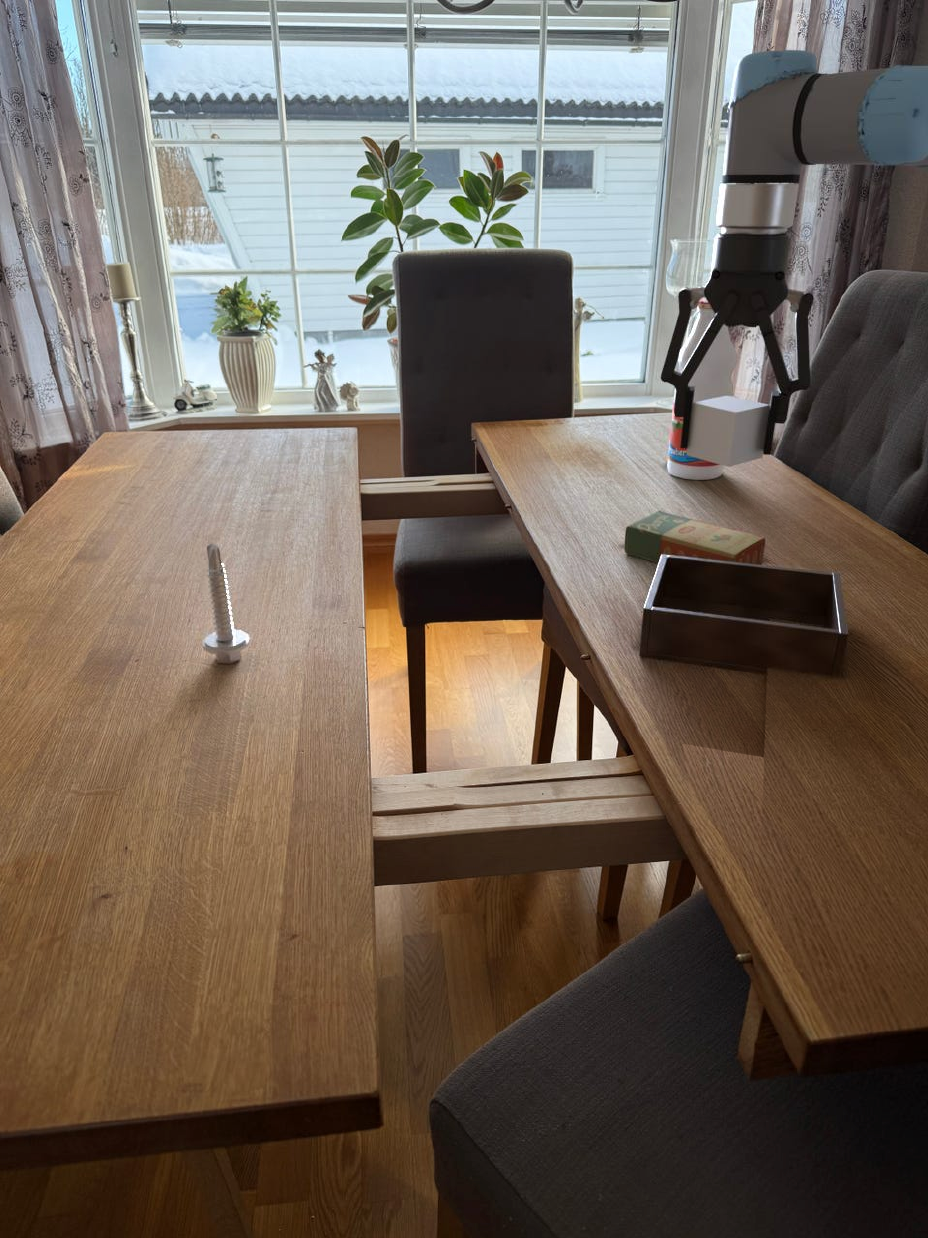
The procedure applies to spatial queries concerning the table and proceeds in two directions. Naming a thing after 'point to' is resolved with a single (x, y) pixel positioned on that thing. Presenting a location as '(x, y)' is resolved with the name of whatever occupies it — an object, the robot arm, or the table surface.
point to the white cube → (727, 430)
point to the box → (744, 616)
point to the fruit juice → (702, 392)
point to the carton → (691, 540)
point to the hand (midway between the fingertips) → (725, 448)
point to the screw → (222, 615)
